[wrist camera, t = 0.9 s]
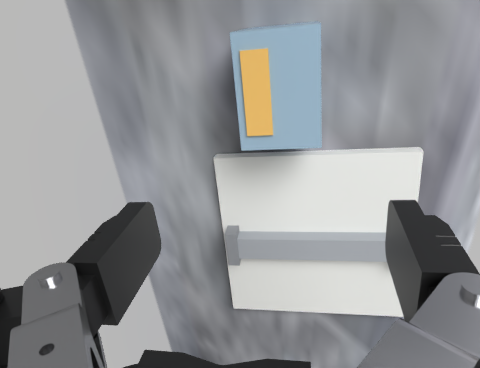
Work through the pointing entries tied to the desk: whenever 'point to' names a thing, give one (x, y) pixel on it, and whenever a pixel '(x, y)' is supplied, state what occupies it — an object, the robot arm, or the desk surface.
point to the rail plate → (313, 227)
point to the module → (278, 86)
